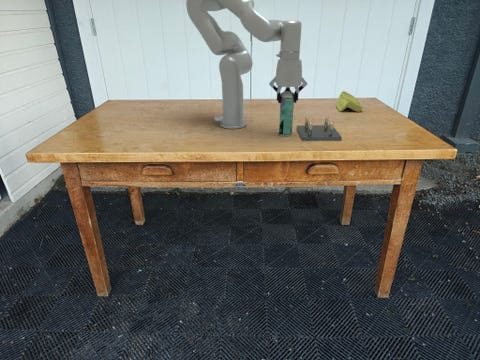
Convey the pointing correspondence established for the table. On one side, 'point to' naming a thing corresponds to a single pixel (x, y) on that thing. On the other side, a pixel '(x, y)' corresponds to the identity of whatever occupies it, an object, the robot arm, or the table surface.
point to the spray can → (286, 112)
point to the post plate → (318, 131)
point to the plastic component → (348, 102)
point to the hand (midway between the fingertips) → (287, 102)
